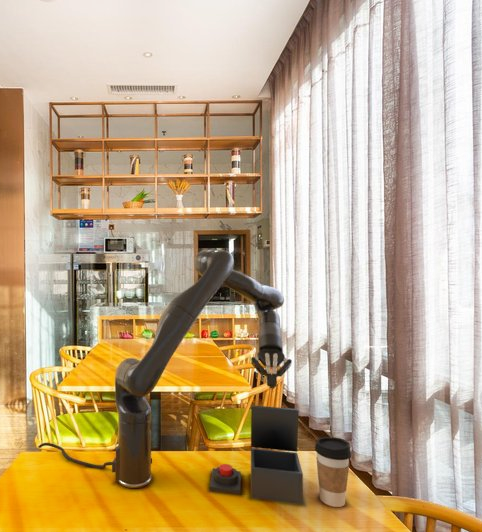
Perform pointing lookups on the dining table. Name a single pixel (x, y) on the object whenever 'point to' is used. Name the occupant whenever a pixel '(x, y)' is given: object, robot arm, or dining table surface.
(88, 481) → the dining table surface
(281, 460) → the dark grey lidded box
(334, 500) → the coffee cup
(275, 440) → the lid
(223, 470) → the button
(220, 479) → the block
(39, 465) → the dining table surface
